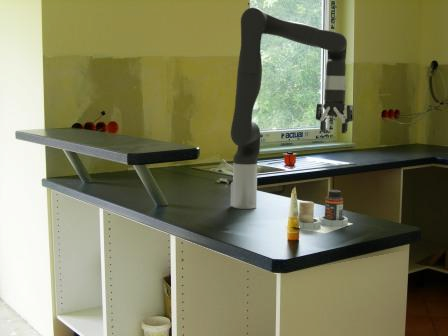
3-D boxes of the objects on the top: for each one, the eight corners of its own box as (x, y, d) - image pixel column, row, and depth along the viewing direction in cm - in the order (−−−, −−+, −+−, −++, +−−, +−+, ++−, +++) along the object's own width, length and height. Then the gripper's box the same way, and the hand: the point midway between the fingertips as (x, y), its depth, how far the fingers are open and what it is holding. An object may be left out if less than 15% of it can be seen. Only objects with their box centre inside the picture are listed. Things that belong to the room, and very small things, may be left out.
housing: (285, 229, 218) (285, 220, 218) (314, 220, 233) (315, 211, 233) (324, 237, 209) (325, 227, 209) (353, 227, 224) (353, 217, 224)
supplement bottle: (320, 223, 223) (321, 190, 222) (331, 220, 228) (332, 188, 226) (335, 226, 219) (336, 192, 218) (345, 223, 223) (347, 190, 222)
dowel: (295, 226, 219) (296, 202, 217) (303, 223, 222) (304, 200, 221) (308, 228, 216) (309, 204, 214) (315, 226, 219) (316, 202, 218)
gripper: (313, 88, 243) (311, 131, 245) (347, 89, 234) (345, 134, 236) (323, 87, 249) (321, 130, 251) (357, 88, 240) (355, 133, 242)
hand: (333, 132), depth 244 cm, fingers open, 8 cm apart
